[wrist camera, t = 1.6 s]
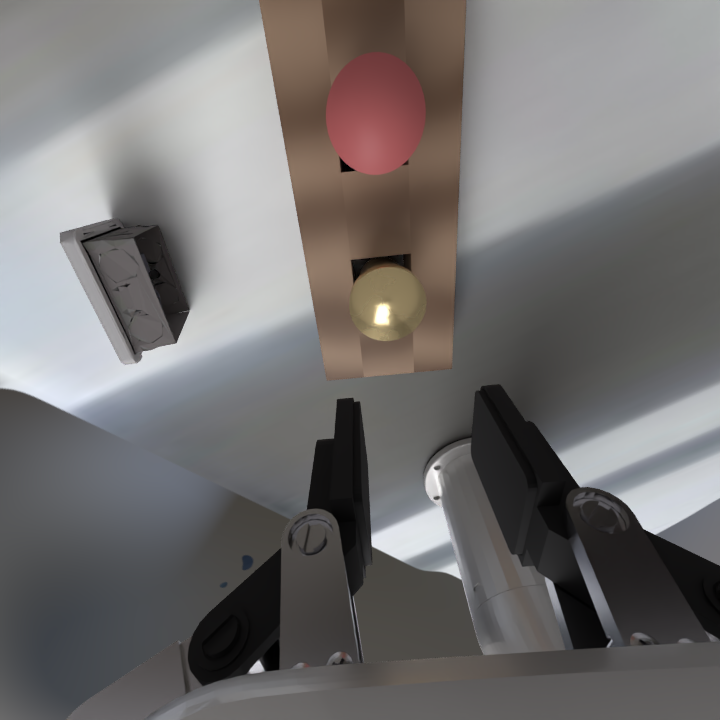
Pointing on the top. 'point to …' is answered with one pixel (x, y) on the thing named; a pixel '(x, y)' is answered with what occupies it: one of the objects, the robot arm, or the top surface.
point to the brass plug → (386, 300)
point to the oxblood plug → (375, 113)
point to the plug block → (372, 192)
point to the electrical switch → (128, 285)
